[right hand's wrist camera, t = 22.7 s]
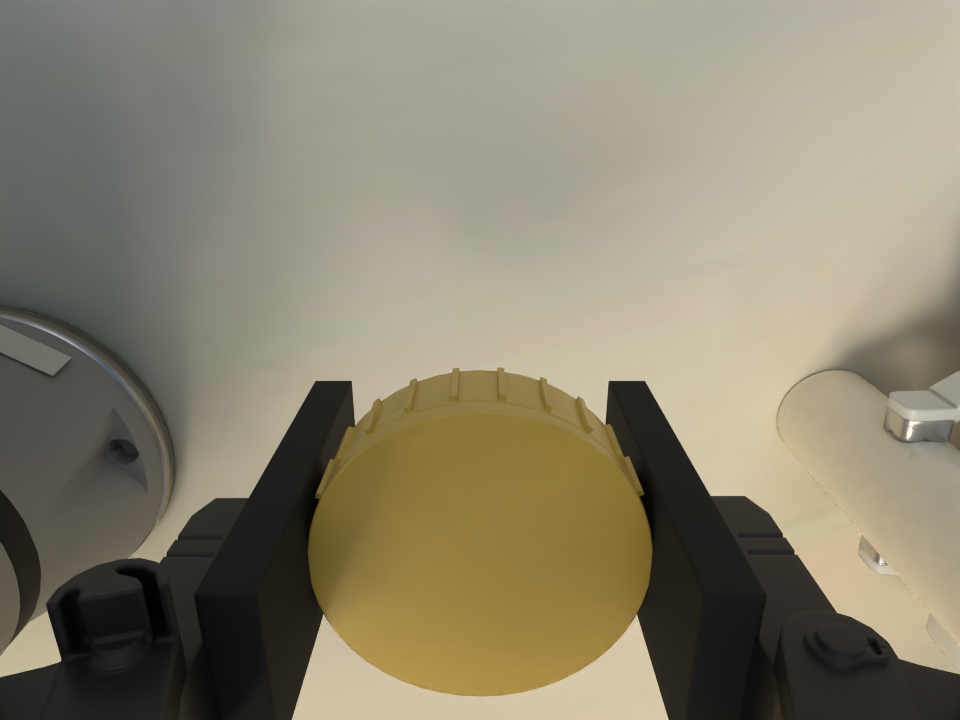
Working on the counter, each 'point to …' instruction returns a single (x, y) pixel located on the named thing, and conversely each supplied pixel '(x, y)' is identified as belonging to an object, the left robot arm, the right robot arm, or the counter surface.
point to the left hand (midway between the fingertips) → (879, 486)
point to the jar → (882, 484)
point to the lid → (480, 535)
